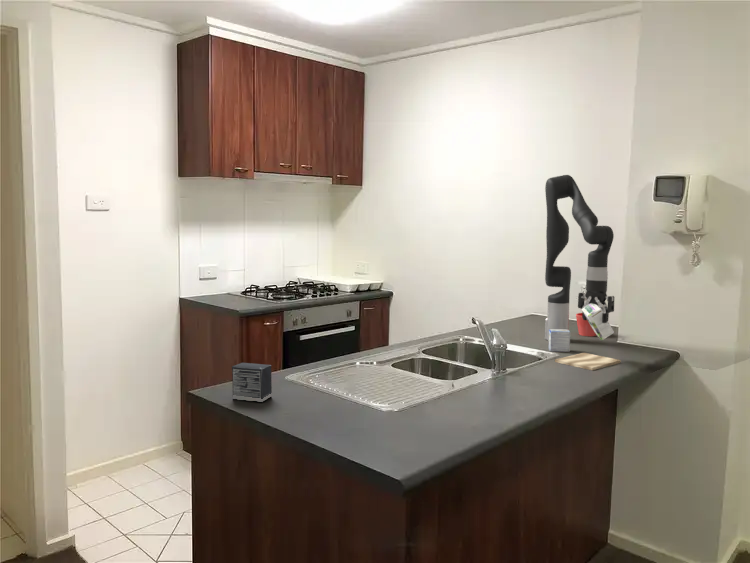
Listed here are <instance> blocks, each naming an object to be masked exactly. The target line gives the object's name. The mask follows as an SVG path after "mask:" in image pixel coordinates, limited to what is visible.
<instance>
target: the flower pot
mask: <svg viewBox="0 0 750 563" xmlns="http://www.w3.org/2000/svg"><path fill="white" fill-rule="evenodd" d="M575 318H576V324H577V330H578V335H579V336H582V337H596V336H597V335H596V333H595V332H594V330H593V329H592V327H591V325H590V323H589V322H588V320H583V318H582V312H578V313H576V314H575Z"/></svg>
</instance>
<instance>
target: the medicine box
mask: <svg viewBox="0 0 750 563" xmlns="http://www.w3.org/2000/svg"><path fill="white" fill-rule="evenodd" d="M570 346H571V331H570V330H569V329H568V330H565V329H550V330H549V341H548V351H549V352H558V353H559V352H561V353H564V352H566V353H567V352H568V353H571V352H570V351H571V350H570V349H571V347H570Z"/></svg>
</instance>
